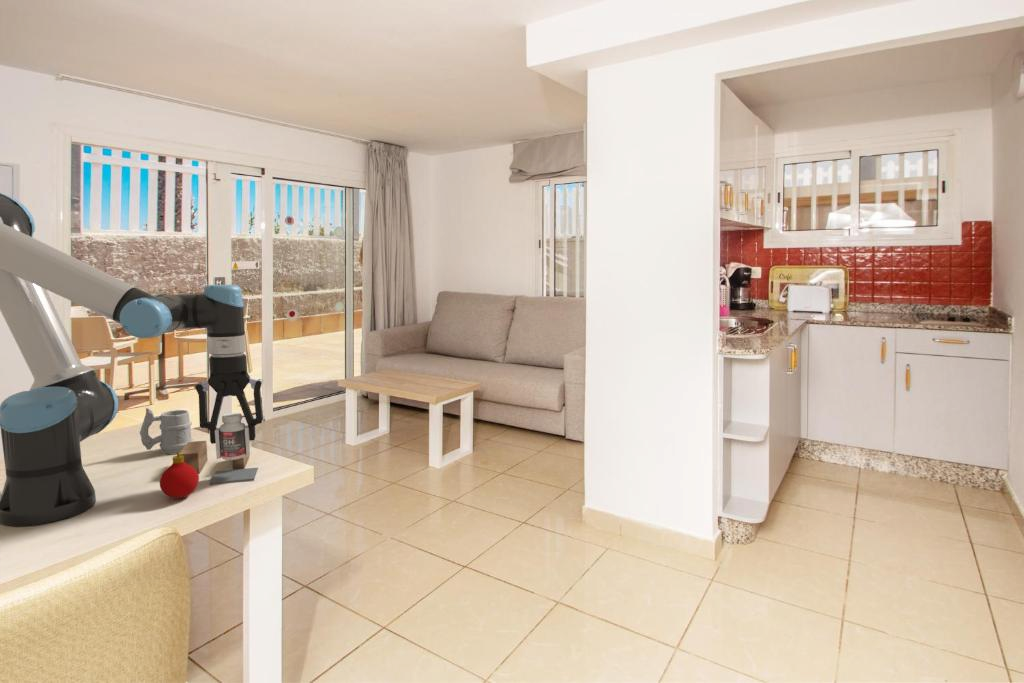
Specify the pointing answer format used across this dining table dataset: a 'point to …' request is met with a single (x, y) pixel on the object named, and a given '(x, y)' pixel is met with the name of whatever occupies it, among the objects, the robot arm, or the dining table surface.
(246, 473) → the pad
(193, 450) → the block
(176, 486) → the christmas ornament
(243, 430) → the pill bottle
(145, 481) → the dining table surface
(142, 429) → the mug
